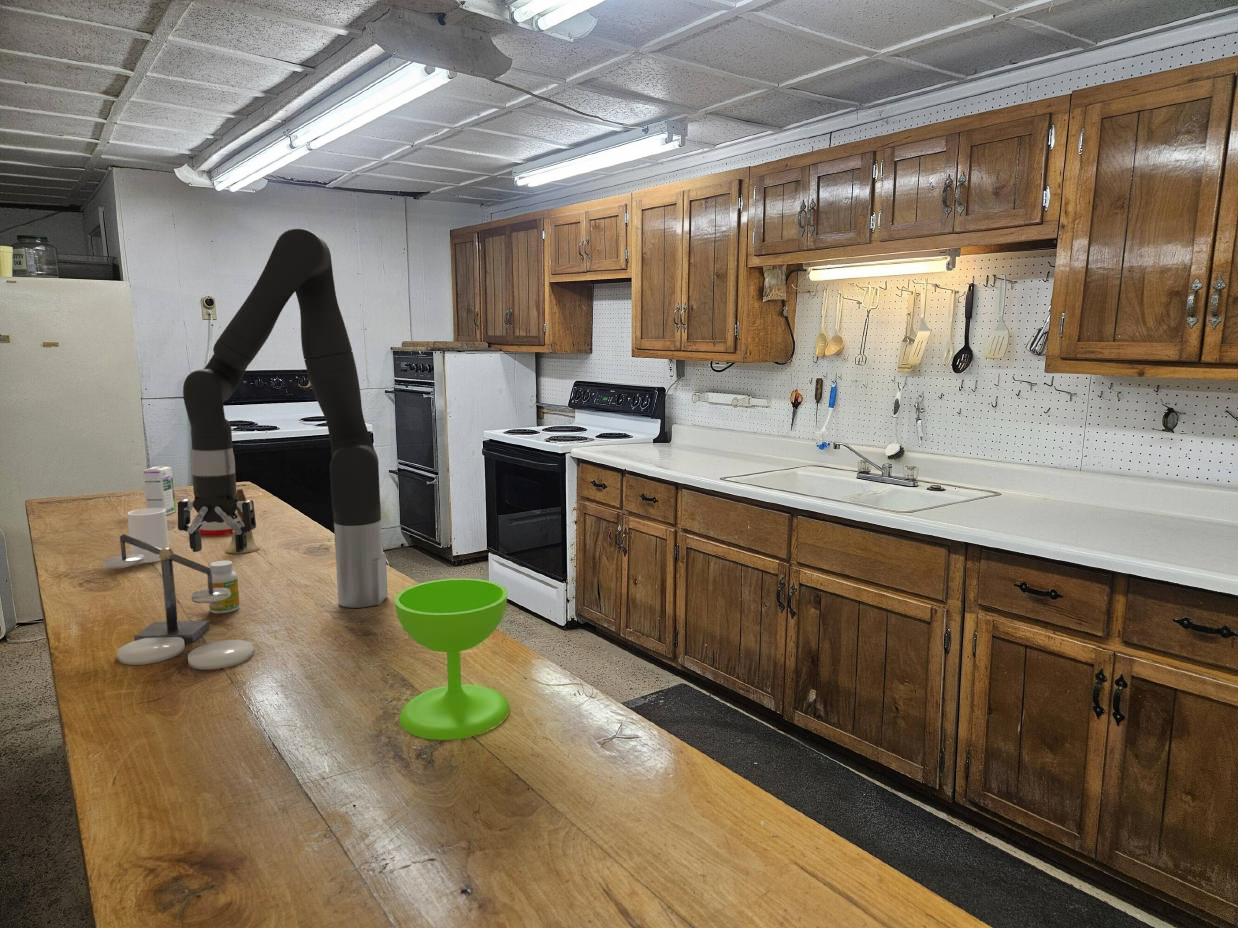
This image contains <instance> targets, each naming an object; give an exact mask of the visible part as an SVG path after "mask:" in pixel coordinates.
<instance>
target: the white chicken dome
mask: <svg viewBox="0 0 1238 928" xmlns="http://www.w3.org/2000/svg"><path fill="white" fill-rule="evenodd" d="M235 512H236V513H237V514H238V512H237V510H236V511H235ZM199 532H201V536H205V537H207V536H208V537H219V536H218V535H222V536H228V535H229V534H231V535H232V533H233V529H232V528H231V527H230V526H228V525H227V524H226V522H223V523H218V522H211V523H207V522H205V523H204V524H203V525H202V527H201V528H200V529H199ZM229 536H230V535H229Z"/></svg>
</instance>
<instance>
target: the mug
mask: <svg viewBox="0 0 1238 928" xmlns="http://www.w3.org/2000/svg"><path fill="white" fill-rule="evenodd" d="M167 521H168V520H167V515H166V510H165V509H163V508H147V507H146V508H140V509H139V508H137V509H133V510H130V511H128V512H127V522H128V533H129V534H128V535H129V536H130V537H133V538H135V539H138V540H140V541H143V542H145V543H148V544H150V545H153V546H155V547H158V548H161V549H163V548H170V544H169V532H168V522H167ZM130 554H141V555H144V556H145V562H144V563H143V564H148V563H149V564H151V563H156V562H161V559H160V558H159V556H158V555H157V554H154V553H152V552H149V551H147V550H144V549H142V548H139V547H137V546H134V545H131V544H130Z"/></svg>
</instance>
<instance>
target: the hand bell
mask: <svg viewBox="0 0 1238 928" xmlns="http://www.w3.org/2000/svg"><path fill="white" fill-rule="evenodd" d="M236 498H237V500H238V502H239V501H247V498H246V495H245V492H244V490H243V488H236ZM237 512H238V515H239V517H240V518H241V521H242V522H243V523H244V519H243V512H241V511H240V508H239V507H238V508H237ZM235 535H236V532H235V531H234V530H233V533H232V534H231V539H230V540H231V541H230V543H229V545H228V546H227V547H226V548H225V553H228V554H232V555H233V554H235V555H237V554H249V552H250V553H253V551H254V552H256V551H259V550H260V549H262V547H261V545H260V544H259V543H257V541H256V540H255V537H254V535H253V530H251V531H249V532H247V533H246V535H247V547H246V548H245V549H244V551H243V552H241V553H237V552H236V541H235Z"/></svg>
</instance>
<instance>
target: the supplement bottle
mask: <svg viewBox="0 0 1238 928" xmlns="http://www.w3.org/2000/svg"><path fill="white" fill-rule="evenodd" d="M209 566H210V567H209V568H211V572H212V584H213V588H228V589H230V591H231V596H230V597H229V598H227V599H225V600H222V601H218V602H212V603H208V605H209V611H210V612H211V613H212V614H229V613H232V612H235V611H237V610H239V608H240V596H239V595H240V594H239V593H240V592H239V580H238V574H237V572H236V571H233V569H234V568H233V562H232V561H231V560H218V561H213V562H211V563H210V564H209ZM207 583H208V577H207ZM207 589H209V588H208V587H207Z"/></svg>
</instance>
